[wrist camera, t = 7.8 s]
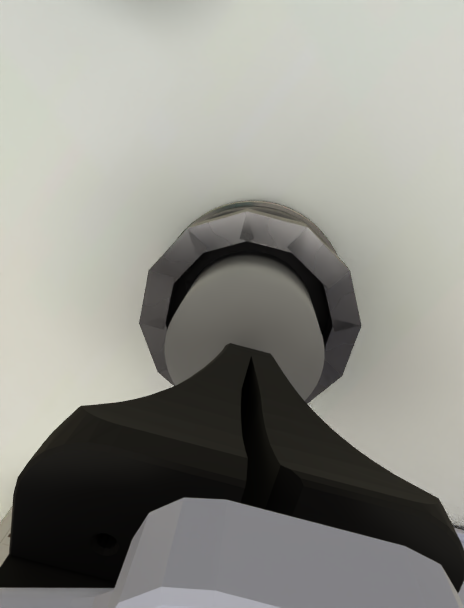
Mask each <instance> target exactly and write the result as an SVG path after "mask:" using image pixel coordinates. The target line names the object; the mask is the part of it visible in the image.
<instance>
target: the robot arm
mask: <svg viewBox="0 0 464 608" xmlns="http://www.w3.org/2000/svg"><path fill="white" fill-rule="evenodd" d="M0 608H464V530H461V529H457V528H454V527H453V525H452V523H451V521H450V519H449V517H448V515H447V513H446V511H445V509H444V507H443V506H442V504H441V502H440V500H439V499H438V498H437V497H435V496H433V495H431V494H429V493H427V492H425V491H424V490H422V489H420V488H418V487H416V486H414V485H413V484H411V483H409V482H407V481H405V480H403V479H401V478H400V477H398V476H396V475H394V474H393V473H391V472H390V471H388V470H386V469H385V468H383V467H382V466H380V465H379V464H377V463H376V462H374V461H372V460H371V459H370V458H368V457H367V456H365V455H364V454H362V453H361V452H360V451H358V450H357V449H356V448H354V447H353V446H352V445H351V444H349V443H348V442H347V441H345V440H344V439H343V438H342V437H340V436H339V435H338V434H337V433H336V432H335V431H333V430H332V429H331V428H330V427H329V426H328V425H327V424H326V423H325V422H324V421H323V420H322V419H321V418H320V417H319V416H318V415H317V414H316V413H315V412H314V411H313V410H312V409H311V408H310V407H309V406H308V404H307V403H306V402H305V401H304V400H303V398H302V397H301V396H300V395H299V394H298V392H297V391H296V390H295V388H294V387H293V386H292V384H291V383H290V382H289V380H288V379H287V377H286V376H285V374H284V373H283V371H282V370H281V368H280V367H279V365H278V364H277V362H276V360H275V359H274V357H273V356H272V355H271V354H270V353H267V352H263V351H259V350H255V349H251V348H247V347H243V346H240V345H236V344H232V343H229V344H227V345H225V347H224V349H223V350H222V351H221V352H220V353H219V354H218V355H217V356H216V357H215V358H214V359H213V360H212V361H211V362H210V363H209V364H208V365H206V366H205V367H204V368H203V369H201V370H200V371H198V372H197V373H195V374H194V375H193V376H191V377H190V378H188V379H186V380H185V381H183V382H181V383H180V384H178V385H176V386H174V387H172V388H169V389H166V390H163V391H161V392H158V393H155V394H152V395H149V396H146V397H142V398H138V399H133V400H128V401H123V402H117V403H108V404H98V405H87V406H80V407H79V408H78V409H77V410H76V411H75V412H73V413H72V414H71V415H70V416H69V417H68V418H67V419H66V420H65V421H64V422H63V423H62V424H61V425H60V426H59V427H58V428H57V429H56V430H54V431H53V433H52V434H51V435H50V436H49V437H48V438H47V439H46V441H45V442H44V443H43V444H42V446H41V447H40V448H39V449H38V451H37V452H36V453H35V454H34V456H33V457H32V458H31V460H30V461H29V462H28V463H27V465H26V466H25V468H24V469H23V471H22V472H21V474H20V475H19V476H18V479H17V483H16V487H15V490H14V495H13V508H12V520H11V533H10V546H9V555H8V556H7V558H6V559H5V561H4V562H3V564H2V565H1V567H0Z"/></svg>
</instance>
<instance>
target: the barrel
mask: <svg viewBox="0 0 464 608" xmlns="http://www.w3.org/2000/svg"><path fill="white" fill-rule="evenodd" d="M248 250H250V251H260V252H265V253H268V254H271V255H274V256H276V257H278V258H280V259H282V260H283V261H285V262H286V263H288V264H289V265H290V266H291V267H293V268H294V269H295V270H296V271H297V273H298V274H299V275H300V276H301V278H302V279H303V281H304V282H305V285H306V287H307V289H308V292H309V295H310V298H311V301H312V305H313V308H314V311H315V315H316V318H317V321H318V324H319V328H320V331H321V334H322V337H323V342H324V365H323V370H322V373H321V376H320V379H319V381H318V383H317V385H316V387H315V388H314V390H313V391H312V393H311V394H310V395H309V397H308V398H307V399H306V400H305V402H306V403H309V402H310V401H311V400H312V399H314V398H315V397H316V396H317V395H319V394H320V393H321V392H322V391H324V390H325V389H326V388H327V387H329V386H330V385H331V384H332V383H334V382H335V381H336V380H337V379H339V378H340V377H341V376H342V375H343V372H344V369H345V367H346V364H347V362H348V359H349V356H350V354H351V351H352V349H353V346H354V343H355V341H356V338H357V336H358V333H359V330H360V328H361V322H360V317H359V312H358V308H357V303H356V298H355V293H354V288H353V283H352V279H351V274H350V270H349V269H348V267H347V266H346V265H345V264H344V262H343V261H342V260H341V259H340V258H339V257H338V256H337V254H336V251H335V250H334V248H333V246H332V245H331V243H330V242H329V240H328V239H327V237H326V236H325V235H324V234H323V233H322V231H321V230H320V229H319V228H318V227H317V226H316V225H315V224H313V223H312V222H311V221H310V220H309V219H307V218H306V217H304V216H303V215H301V214H300V213H298V212H296V211H294V210H292V209H290V208H288V207H285V206H282V205H279V204H276V203H270V202H265V201H240V202H235V203H230V204H226V205H223V206H221V207H218V208H215V209H213V210H211V211H209V212H207V213H206V214H204V215H202V216H201V217H200V218H198V219H197V220H195V221H194V222H193V223H192V224H191V225H190V226H189V227H188V228H186V229H185V230H184V231H183V233H182V234H181V235H180V236H179V238H178V239H177V240H176V241H175V242H174V244H173V245H172V246H171V247H170V248H169V249H168V250H167V251H166V252H165V253H164V254H163V256H162V257H161V258H160V259H159V260H158V261H157V262H156V263H155V264H154V265H153V266H152V267H151V269H150V270H149V272H148V277H147V283H146V288H145V294H144V299H143V305H142V311H141V316H140V322H139V324H140V327H141V329H142V332H143V334H144V337H145V340H146V342H147V345H148V348H149V350H150V353H151V355H152V358H153V361H154V363H155V366H156V368H157V371H158V372H159V373H160V374H161V375H162V376H163V377H164V378H166V379H167V380H168V381H169V382H170V383H171V384H172V385H174V386H175V384H174V383H173V381H172V379H171V377H170V374H169V372H168V369H167V365H166V360H165V338H166V333H167V330H168V326H169V324H170V322H171V320H172V318H173V316H174V314H175V313H176V311H177V309H178V308H179V306H180V304H181V303H182V301H183V299H184V298H185V296H186V294H187V293H188V291H189V289H190V288H191V286H192V285H193V283H194V281H195V280H196V278H197V277H198V275H199V274H200V273H201V271H202V270H203V269H204V268H205V267H206V266H207V265H209V264H210V263H211V262H213V261H214V260H216V259H217V258H219V257H221V256H224V255H226V254H229V253H232V252H238V251H248Z"/></svg>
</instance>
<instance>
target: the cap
mask: <svg viewBox="0 0 464 608" xmlns="http://www.w3.org/2000/svg"><path fill="white" fill-rule="evenodd" d="M229 343H232V344H236V345H240V346H243V347H247V348H251V349H255V350H259V351H263V352H267V353H270V354H271V355H272V356H273V357H274V359H275V360H276V362H277V364H278V365H279V367H280V368H281V370H282V371H283V373H284V374H285V376H286V377H287V379H288V380H289V382H290V383H291V384H292V386H293V387H294V388H295V390H296V391H297V392H298V394H299V395H300V396H301V397H302V398H303V400H304V401H305V400H306V399H307V398H308V397H309V395H310V394H311V393H312V391H313V390H314V388H315V387H316V385H317V383H318V381H319V379H320V376H321V373H322V370H323V365H324V342H323V337H322V334H321V331H320V328H319V324H318V321H317V318H316V315H315V311H314V308H313V305H312V301H311V298H310V295H309V292H308V289H307V287H306V285H305V282H304V281H303V279H302V278H301V276H300V275H299V274H298V273H297V271H296V270H295V269H294V268H293V267H291V266H290V265H289V264H288V263H286V262H285V261H283V260H282V259H280V258H278V257H276V256H274V255H271V254H268V253H265V252H260V251H250V250H248V251H238V252H232V253H229V254H226V255H224V256H221V257H219V258H217V259H216V260H214V261H213V262H211V263H210V264H209V265H207V266H206V267H205V268H204V269H203V270H202V271H201V273H200V274H199V275H198V277H197V278H196V280H195V281H194V283H193V285H192V286H191V288H190V289H189V291H188V293H187V294H186V296H185V298H184V299H183V301H182V303H181V304H180V306H179V308H178V309H177V311H176V313H175V314H174V316H173V318H172V320H171V322H170V324H169V326H168V330H167V333H166V338H165V360H166V365H167V369H168V372H169V374H170V377H171V379H172V381H173V383H174V384H175V386H176V385H178V384H180V383H181V382H183V381H185V380H186V379H188V378H190V377H191V376H193V375H194V374H195V373H197V372H198V371H200V370H201V369H203V368H204V367H205V366H206V365H208V364H209V363H210V362H211V361H212V360H213V359H214V358H215V357H216V356H217V355H218V354H219V353H220V352H221V351H222V350H223V349H224V347H225V345H227V344H229Z"/></svg>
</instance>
